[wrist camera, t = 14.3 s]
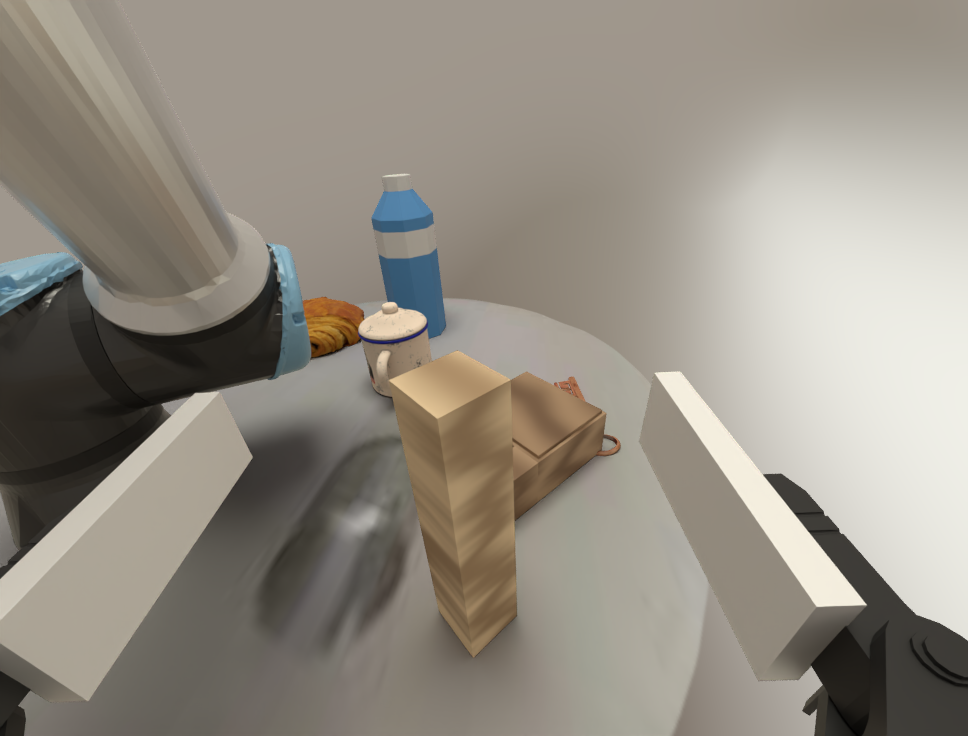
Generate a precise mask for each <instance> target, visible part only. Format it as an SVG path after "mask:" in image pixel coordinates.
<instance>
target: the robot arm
mask: <svg viewBox="0 0 968 736" xmlns="http://www.w3.org/2000/svg"><path fill="white" fill-rule="evenodd" d="M0 186H1V187H2V188H3V189H4V190H5V191H6V192H7V193H9V194H10V195H11V196H12V197H13V198H14V199H15V200H16V201H17V202H18V203H19V204H20V205H21V206H22V207H23V208H25V209H26V210H27V211H28V212H29V213H30V214H31V215H32V216H33V217H34V218H35V219H36V220H37V221H38V222H40V223H41V224H42V225H43V226H44V227H45V228H46V229H47V230H48V231H49V232H50V233H51V234H52V235H54V236H55V237H56V238H57V239H58V240H59V241H60V242H61V243H62V244H63V245H64V246H65V247H66V248H67V249H68V250H69V251H70V252H72V253H73V254H74V255H75V256H76V257H77V258H78V259H79V260H80V261H81V262H82V263H83V264H84V265H85V267H84V271H82V269H81V268H82V267H83V266H82V264H81V263H80V262H78V261H77V260H75V258H73V257H72V256H71V255H70V254H67V253H63V252H57V253H55V254H54V253H52V254H42V255H37V256H32V257H28V258H23V259H19V260H15V261H11V262H7V263H3V264H0V492H1V495H2V499H3V503H4V507H5V510H6V514H7V518H8V521H9V525H10V529H11V533H12V536H13V540H14V543H15V545H16V547H17V548H18V550H19V551H18V552H17V553H16V554H15V555H14V556H13V557H12V558H11V559H10V560H9V561H8V565H7V566H2V567H1V568H0V736H24V730H25V722H26V717H25V712H24V709H23V708H21V707H19V706H18V705H19V704H20V702H21V701H22V700H23V699H24V697H25V696H26V695H27V694H28V692H29V691H30V690H31V691H32V692H34V693H35V694H37V695H39V696H40V697H42V698H44V699H45V700H47V701H49V702H82V701H89V699H90V698H91V696H92V695H93V693H94V692H95V690H96V689H97V688H98V686H99V685H100V683H101V682H102V680H103V679H104V677H105V676H106V674H107V673H108V671H109V670H110V668H111V667H112V665H113V664H114V662H115V661H116V659H117V658H118V656H119V655H120V653H121V652H122V650H123V649H124V648H125V646H126V645H127V643H128V642H129V640H130V639H131V637H132V636H133V634H134V633H135V631H136V630H137V628H138V627H139V625H140V624H141V622H142V621H143V619H144V618H145V616H146V615H147V613H148V612H149V611H150V609H151V608H152V606H153V605H154V603H155V602H156V600H157V599H158V597H159V596H160V594H161V593H162V591H163V590H164V588H165V587H166V585H167V584H168V582H169V581H170V579H171V578H172V576H173V575H174V573H175V572H176V571H177V569H178V568H179V566H180V565H181V563H182V562H183V560H184V559H185V557H186V556H187V554H188V553H189V551H190V550H191V548H192V547H193V545H194V544H195V542H196V541H197V539H198V538H199V536H200V535H201V533H202V532H203V531H204V529H205V528H206V526H207V525H208V523H209V522H210V520H211V519H212V517H213V516H214V514H215V513H216V511H217V510H218V508H219V507H220V505H221V504H222V502H223V501H224V499H225V498H226V496H227V495H228V494H229V492H230V491H231V489H232V488H233V486H234V485H235V483H236V482H237V480H238V479H239V477H240V476H241V474H242V473H243V471H244V470H245V468H246V467H247V465H248V464H249V462H250V461H251V459H252V458H253V457H252V455H251V453H250V451H249V449H248V447H247V445H246V443H245V441H244V439H243V437H242V435H241V433H240V431H239V429H238V427H237V425H236V423H235V421H234V419H233V417H232V415H231V413H230V411H229V409H228V407H227V405H226V403H225V401H224V399H223V397H222V395H221V393H220V392H213V391H217V390H221V389H225V388H230V387H234V386H238V385H242V384H247V383H251V382H255V381H259V380H264V379H268V380H273V379H276V378H278V377H279V376H280V375H284V374H287V373H290V372H294V371H297V370H300V369H302V368H304V367H305V366H306V365H307V364H308V363H309V361H310V359H311V345H310V339H309V333H308V327H307V322H306V318H305V315H304V313H305V312H304V308H303V301H302V296H301V292H300V287H299V282H298V278H297V273H296V269H295V265H294V261H293V257H292V254H291V252H290V250H289V248H287V247H285V246H283V245H274V244H273V243H272V244H271V243H270V244H265V243H264V240H263V239H262V237H261V236H260V234H259V233H258V232H257V231H256V230H255V229H254V227H252V226H251V225H250V224H248V223H247V222H246V221H244V220H242V219H240V218H239V217H237V216H235V215H232V214H230V213H227V212H226V211H225V209H224V207H223V205H222V203H221V201H220V199H219V197H218V195H217V193H216V192H215V190H214V187H213V185H212V183H211V182H210V179H209V178H208V176H207V174H206V172H205V170H204V168H203V166H202V164H201V162H200V160H199V158H198V156H197V154H196V152H195V150H194V148H193V146H192V144H191V142H190V140H189V138H188V136H187V134H186V132H185V130H184V128H183V126H182V124H181V122H180V121H179V118H178V116H177V114H176V112H175V110H174V108H173V106H172V105H171V102H170V101H169V98H168V97H167V94H166V93H165V91H164V89H163V87H162V85H161V83H160V81H159V79H158V77H157V75H156V73H155V71H154V69H153V67H152V65H151V63H150V61H149V59H148V57H147V55H146V53H145V51H144V49H143V47H142V45H141V43H140V41H139V39H138V37H137V35H136V33H135V31H134V29H133V27H132V26H131V23H130V22H129V19H128V17H127V15H126V13H125V11H124V10H123V8H122V6H121V4H120V2H119V0H0ZM187 397H190V398H189V399H188V400H187V401H186V402H185V403H184V404H183V405H182V406H181V407H180V408H179V409H178V410H177V411H176V412H175V413H174V414H173V415H170V414H169V413H168V412H167V411H166V410H165V409H164V408H163V406H162V405H161V404H162V403H166V402H170V401H175V400H179V399H183V398H187ZM639 442H640V444H641V446H642V448H643V450H644V452H645V454H646V456H647V458H648V460H649V462H650V465H651V467H652V469H653V471H654V473H655V475H656V477H657V479H658V481H659V483H660V485H661V487H662V489H663V491H664V493H665V495H666V497H667V499H668V501H669V503H670V505H671V507H672V509H673V511H674V513H675V515H676V517H677V519H678V521H679V523H680V525H681V527H682V529H683V531H684V533H685V535H686V537H687V539H688V541H689V543H690V545H691V547H692V549H693V551H694V553H695V555H696V557H697V559H698V561H699V563H700V565H701V567H702V569H703V571H704V573H705V575H706V577H707V579H708V581H709V583H710V585H711V587H712V589H713V591H714V593H715V595H716V597H717V599H718V601H719V603H720V605H721V607H722V609H723V611H724V613H725V615H726V617H727V619H728V621H729V623H730V625H731V627H732V629H733V631H734V633H735V635H736V638H737V639H738V641H739V644H740V646H741V648H742V649H743V651H744V654H745V656H746V658H747V660H748V662H749V664H750V666H751V668H752V669H753V672H754V674H755V676H756V678H757V680H758V681H772V680H773V681H776V680H799V679H800V678H801V676H802V675H803V674H804V673H805V672H806V671H807V670H808V669H809V668H810V667H811V666H812V668H813V669H814V671H815V672H816V674H817V676H818V677H819V679H820V681H821V682H822V684H823V685H822V686H821V687H820V688H819V689H818V690H817V691H816V693H815V694H813V695H812V696H811V697H810V698H809V699H808V700H807V701H806V704H805V706H804V708H803V710H802V711H803V712H805V713H806V714H808V715H811V713H813V712H814V711H815V710H816V709H817V716H816V725H815V735H814V736H968V641H967V640H966V639H965V638H963V637H962V636H960V635H958V634H957V633H955V632H953V631H952V630H950V629H948V628H947V627H945V626H943V625H941V624H940V623H937V622H935V621H932V620H929V619H926V618H923V617H921V616H917V615H916V614H915V613H914V612H913V611H912V610H911V609H910V608H909V607H908V606H907V605H906V604H905V603H904V602H903V601H902V600H901V599H900V598H899V596H898V595H897V594H896V593H895V592H894V591H893V590H892V588H891V587H890V586H889V585H888V584H887V583H886V582H885V581H884V579H883V578H882V577H881V576H880V575H879V574H878V573H877V571H875V569H874V568H873V567H872V566H871V565H870V564H869V563H868V561H867V560H866V559H865V558H864V557H863V556H862V554H861V553H860V552H859V551H858V550H857V549H856V548H855V547H854V545H853V544H852V543H851V542H850V541H849V540H848V539H847V538H846V536H845V535H844V534H841V533H840V532H839V528H838V527H837V526H836V525H835V524H834V523H833V522H832V520H831V519H830V518H829V517H828V516H825V515H824V511H823V510H822V509H821V508H820V507H819V506H818V504H817V503H816V502H815V501H814V500H813V499H812V498H811V497H810V495H809V494H808V493H807V492H806V491H805V490H803V489H802V488H801V487H799V486H798V485H796V484H795V483H794V482H792V481H791V480H789V479H788V478H786V477H785V476H784V475H782V474H762V473H761V472H760V471H759V470H758V468H757V467H756V466H755V464H754V463H753V462H752V461H751V459H750V458H749V457H748V456H747V454H746V453H745V452H744V451H743V449H742V448H741V447H740V446H739V445H738V443H737V442H736V441H735V439H734V438H733V437H732V436H731V434H729V432H728V431H727V429H726V428H725V427H724V426H723V425H722V423H721V422H720V421H719V419H718V418H717V417H716V416H715V415H714V413H713V412H712V411H711V410H710V408H709V407H708V406H707V404H706V403H705V402H704V401H703V400H702V398H701V397H700V396H699V395H698V393H697V392H696V391H695V389H694V388H693V387H692V386H691V384H690V383H689V382H688V381H687V380H686V378H685V377H684V376H683V375H682V374H681V372H660V373H654V376H653V381H652V385H651V390H650V394H649V399H648V403H647V408H646V412H645V417H644V421H643V426H642V431H641V435H640V440H639Z"/></svg>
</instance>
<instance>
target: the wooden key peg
mask: <svg viewBox="0 0 968 736" xmlns="http://www.w3.org/2000/svg"><path fill="white" fill-rule="evenodd" d="M389 384H390V389H391V393H392V398H393V402H394V407H395V411H396V416H397V421H398V425H399V430H400V434H401V439H402V444H403V448H404V453H405V457H406V462H407V466H408V471H409V476H410V480H411V485H412V489H413V494H414V499H415V503H416V508H417V512H418V517H419V522H420V526H421V531H422V535H423V540H424V544H425V549H426V554H427V558H428V563H429V567H430V572H431V577H432V581H433V586H434V590H435V595H436V599H437V604H438V609H439V612H440V613H441V614H442V616H443V617H444V618H445V620H446V621H447V623H448V624H449V625H450V627H451V628H452V629H453V631H454V632H455V634H456V635H457V636H458V638H459V639H460V640H461V642H462V643H463V645H464V646H465V647H466V649H467V650H468V651H469V653H470V654H471V656H472V657H473V658H474V657H475V656H476V655H477V654H478V653H479V652H480V651H481V650H482V649H483V648H484V647H485V646H486V645H487V644H488V643H489V642H490V641H491V640H492V639H493V638H494V637H495V636H496V635H498V634H499V633H500V632H501V631H502V630H503V629H504V628H505V627H506V626H507V625H508V624H509V623H510V622H511V621H512V620H513V619H514V618H515V617H516V616H517V598H516V560H515V522H514V484H513V447H512V409H511V380H510V379H508V378H507V377H505V376H503V375H501V374H499V373H497V372H496V371H494V370H492V369H490V368H488V367H487V366H485V365H483V364H481V363H479V362H478V361H476V360H474V359H472V358H470V357H469V356H467V355H465V354H463V353H461V352H459V351H458V350H457V351H455V352H453V353H450V354H448V355H446V356H443V357H441V358H439V359H436V360H434V361H432V362H430V363H427V364H425V365H423V366H420V367H418V368H416V369H413V370H411V371H409V372H407V373H404V374H402V375H400V376H397V377H395V378H393V379H390V380H389Z"/></svg>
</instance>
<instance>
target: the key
mask: <svg viewBox="0 0 968 736" xmlns="http://www.w3.org/2000/svg"><path fill="white" fill-rule="evenodd" d="M568 380H569V381H564V382H559V385H560V387H561V389H562V390H567V391H566V392H567V393H569V394H571V391H570V390H572V393H573V394H572V395H573V396H575V397H577V398H579V399H581V400H583V401H585V399H584V397H583V395H582V393H581V391H580V389H579V387H578V385H577V382H576V380H575V378H574V377H569V379H568ZM564 384H565V385H564ZM568 384H569V385H570V388H569V387H568ZM554 385H555V386H556V387H558V384H557V383H554ZM558 388H559V387H558ZM567 388H568V389H567ZM603 438H607V439H610V440H612V441H614V442H615V443H616V444H617V446H616V447H615V448H613V449H611V450H608V451H598V452H597V454H596V455H598V456H607V455H611V454H614V453H615V452H617V451H618V450H619V448H620V446H621V445H620V442H619V440H618V439H617V438H615V437H613V436H610V435H603Z"/></svg>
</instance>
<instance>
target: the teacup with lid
mask: <svg viewBox="0 0 968 736" xmlns="http://www.w3.org/2000/svg"><path fill="white" fill-rule="evenodd" d="M427 327H428V321H427V319H426V317H425V316H424V315H423V314H422V313H420V312H418V311H414V310H409V309H403V308H398V306H397V304H396V303H395V302H387V303H384V304H383V305H382V310H381V311H379V312H377V313H376V314H374V315H372V316H370V317H368V318H366V319H365V320H364V321H362V322H361V324H360V326H359V329H358V335H359V337H360V338H361V339H362V344H363V348H364V352H365V356H366V360H367V364H368V368H369V372H370V376H371V380H372V384H373V387H374V389H375V390H376V391H377V392H378V393H380V394H382V395H385V396H389V397H392V393H391V389H390V384H389V380H390V379H393V378H395V377H397V376H400V375H402V374H404V373H407V372H409V371H411V370H413V369H416V368H418V367H420V366H423V365H425V364H427V363H430V362H432V359H431V352H430V345H429V339H428V332H427Z"/></svg>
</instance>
